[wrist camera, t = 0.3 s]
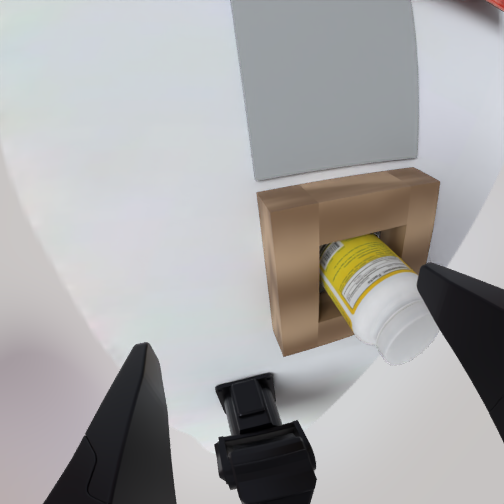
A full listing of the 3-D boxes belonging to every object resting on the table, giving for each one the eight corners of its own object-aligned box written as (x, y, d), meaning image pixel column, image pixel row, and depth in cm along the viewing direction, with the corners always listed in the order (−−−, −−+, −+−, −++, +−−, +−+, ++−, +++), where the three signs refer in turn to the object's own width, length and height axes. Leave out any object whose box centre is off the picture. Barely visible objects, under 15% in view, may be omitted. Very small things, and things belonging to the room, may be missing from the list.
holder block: (395, 292, 31) (413, 312, 28) (272, 329, 29) (283, 356, 27) (413, 167, 24) (440, 181, 21) (256, 192, 22) (270, 212, 19)
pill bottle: (367, 275, 29) (432, 357, 20) (308, 287, 28) (364, 384, 18) (377, 216, 25) (463, 293, 16) (313, 225, 24) (389, 319, 15)
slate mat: (414, 156, 23) (417, 157, 23) (254, 179, 21) (256, 181, 21) (407, -3, 15) (410, -3, 15) (227, -18, 14) (228, -19, 13)
